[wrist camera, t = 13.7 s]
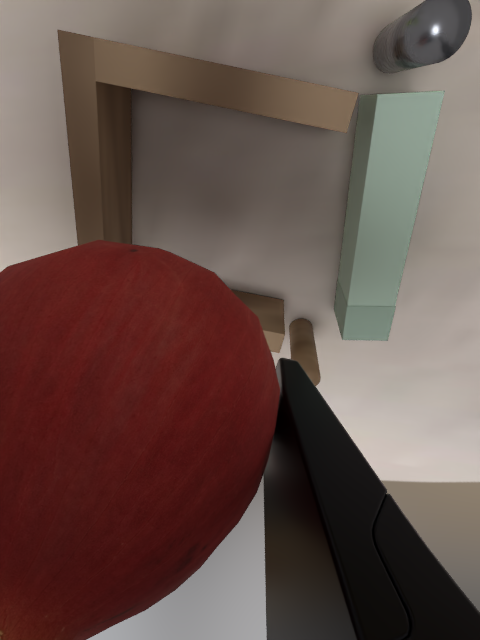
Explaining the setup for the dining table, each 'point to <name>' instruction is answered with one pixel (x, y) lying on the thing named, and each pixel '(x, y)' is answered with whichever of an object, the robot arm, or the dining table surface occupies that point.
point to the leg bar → (382, 207)
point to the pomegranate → (121, 432)
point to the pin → (423, 35)
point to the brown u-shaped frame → (185, 83)
